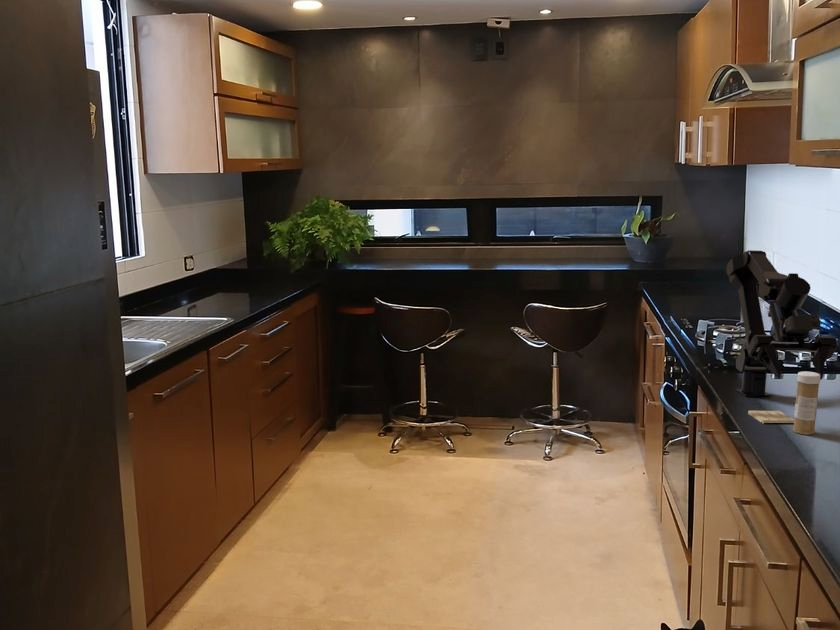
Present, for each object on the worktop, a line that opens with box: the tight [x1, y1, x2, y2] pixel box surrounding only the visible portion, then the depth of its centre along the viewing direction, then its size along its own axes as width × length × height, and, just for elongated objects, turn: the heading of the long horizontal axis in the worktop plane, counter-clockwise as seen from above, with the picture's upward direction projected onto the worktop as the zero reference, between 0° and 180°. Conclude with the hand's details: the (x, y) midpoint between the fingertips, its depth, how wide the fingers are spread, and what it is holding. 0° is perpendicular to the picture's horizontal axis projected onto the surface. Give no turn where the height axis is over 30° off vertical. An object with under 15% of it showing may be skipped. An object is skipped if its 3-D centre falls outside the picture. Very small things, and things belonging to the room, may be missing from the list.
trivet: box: [747, 410, 794, 425], centre depth 195 cm, size 8×8×1 cm
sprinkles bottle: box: [792, 370, 821, 436], centre depth 183 cm, size 5×5×14 cm
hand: (800, 378), depth 187 cm, fingers open, 9 cm apart
